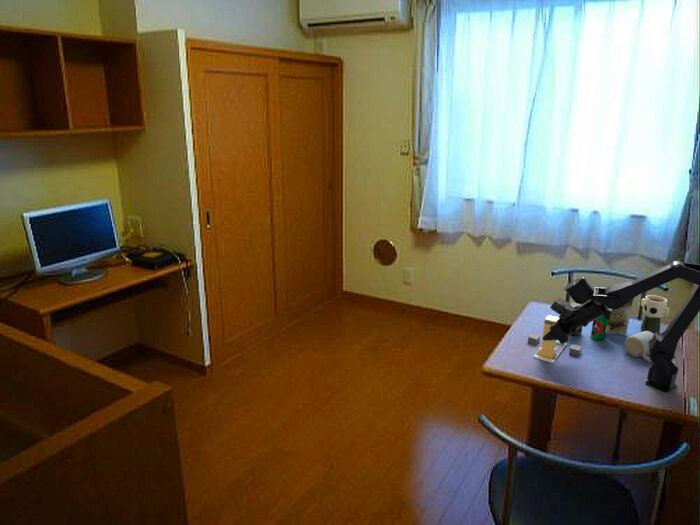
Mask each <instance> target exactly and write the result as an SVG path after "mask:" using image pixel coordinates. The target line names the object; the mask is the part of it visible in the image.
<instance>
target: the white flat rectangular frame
mask: <svg viewBox="0 0 700 525" xmlns="http://www.w3.org/2000/svg"><path fill="white" fill-rule="evenodd" d="M540 340H541V335H539V334H536V333H530V335H529V336H528V338H527V343H529V344H533V345H538V343H540ZM556 345H560V346H561V345H562V347H561V348H560V350H559V351H558V352H557V353H556V355H555V357H554V358H553V359H549V358H545V357H542V356H538V355H539V349H538V350H536V352H535V354H533V358H534V359H537V360H541V361H545V362H549V363H551V364H554V363H555V362H557V360H558V358H559V356H561V354H562V353H563V351H564V350H565V348H566V347H567V345H568V342H566V343H564V344H561V343H560V342H559V340H556ZM582 349H583V346H581V345H577V344H571V346H570V347H569V353H568V354H569V355H572V356H577V357H579V356H580V354H581V353H582Z"/></svg>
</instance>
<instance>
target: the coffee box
mask: <svg viewBox="0 0 700 525" xmlns="http://www.w3.org/2000/svg"><path fill="white" fill-rule="evenodd" d="M607 287H608V286H603V288H607ZM633 302H634V298H633V299H632V300H631V301H630V302H629V303H627V304H626V305H624V306H623V307H621V308H619V309H616V310H613V311H612V314H611V318H610V320H609V325H608V331H607V335H617V336H627V332H628V327H629V322H630V318H631V312H632V306H633ZM607 308H608V307H607ZM609 309H610V308H609Z"/></svg>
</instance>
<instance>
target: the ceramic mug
mask: <svg viewBox="0 0 700 525" xmlns="http://www.w3.org/2000/svg"><path fill="white" fill-rule="evenodd" d="M653 336H654V333H651V332H649V331H646V330H645V331H644V330H642V331H641V332H638V333H635V334H632V335H630V336H628V337H627V338H626V340H625V342H624V348H625V350H626V352H627V353H628V354H629V355H630V356H632V357H634V358H641V357H642V358H643V359H644V360H645V361H647V362H649V363H650V364H653V362H652V361H651V360H650V355H649V344H648V341H650V340H651V339H652V338H653Z"/></svg>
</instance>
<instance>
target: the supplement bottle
mask: <svg viewBox="0 0 700 525" xmlns="http://www.w3.org/2000/svg"><path fill="white" fill-rule="evenodd" d="M569 303H570V304H571V305H572V306H573V307H576V306H581V305H583V304H579V303H575V301H573V302H569ZM583 327H584V326H583ZM583 327H581V328H579V329H577V331H576V332H575V333H573V332H572V331H571V332H570V333H571V337H581V336H582V332H583Z"/></svg>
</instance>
